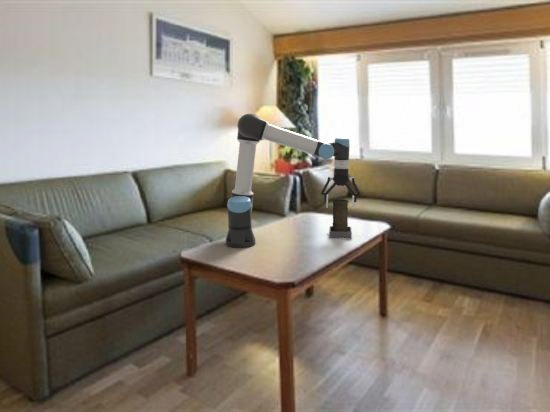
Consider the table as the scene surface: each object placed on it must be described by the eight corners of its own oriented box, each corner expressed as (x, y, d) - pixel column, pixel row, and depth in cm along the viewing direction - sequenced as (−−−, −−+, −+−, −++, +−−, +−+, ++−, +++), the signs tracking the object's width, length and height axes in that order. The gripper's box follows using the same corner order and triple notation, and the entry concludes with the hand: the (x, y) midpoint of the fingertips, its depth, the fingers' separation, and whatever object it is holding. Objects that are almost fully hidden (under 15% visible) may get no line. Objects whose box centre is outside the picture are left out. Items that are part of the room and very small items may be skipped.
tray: (329, 237, 242) (329, 231, 241) (329, 232, 253) (329, 226, 253) (351, 238, 240) (351, 231, 240) (350, 232, 252) (351, 226, 251)
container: (348, 236, 241) (348, 202, 238) (330, 235, 243) (331, 201, 240) (349, 231, 250) (349, 199, 247) (332, 231, 252) (332, 198, 248)
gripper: (316, 168, 238) (315, 208, 242) (366, 169, 235) (364, 210, 239) (317, 166, 245) (316, 205, 249) (365, 167, 242) (363, 207, 246)
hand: (339, 208), depth 244 cm, fingers open, 13 cm apart
